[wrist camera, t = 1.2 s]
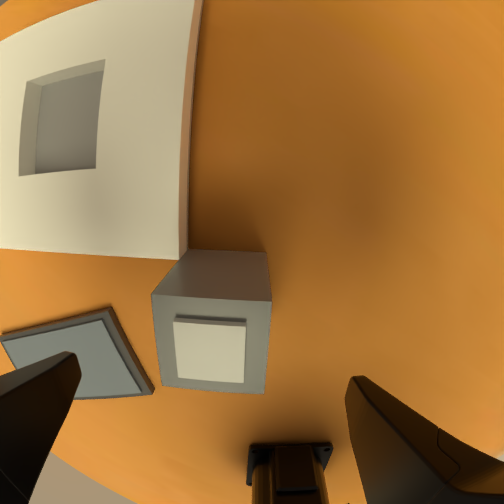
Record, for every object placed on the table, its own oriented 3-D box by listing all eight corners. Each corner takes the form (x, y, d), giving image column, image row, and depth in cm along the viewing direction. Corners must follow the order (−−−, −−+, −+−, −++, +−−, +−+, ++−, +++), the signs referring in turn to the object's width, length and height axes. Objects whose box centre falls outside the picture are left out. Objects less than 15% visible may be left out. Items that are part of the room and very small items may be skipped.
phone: (156, 383, 18) (151, 396, 17) (41, 392, 19) (34, 400, 18) (115, 302, 17) (106, 312, 16) (6, 331, 18) (-4, 338, 17)
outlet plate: (188, 248, 15) (178, 259, 13) (4, 239, 15) (-15, 247, 13) (203, 0, 12) (197, -18, 10) (16, 48, 12) (-1, 42, 10)
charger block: (261, 321, 16) (264, 399, 10) (190, 317, 16) (160, 390, 10) (266, 252, 15) (272, 305, 9) (188, 248, 15) (148, 297, 9)
